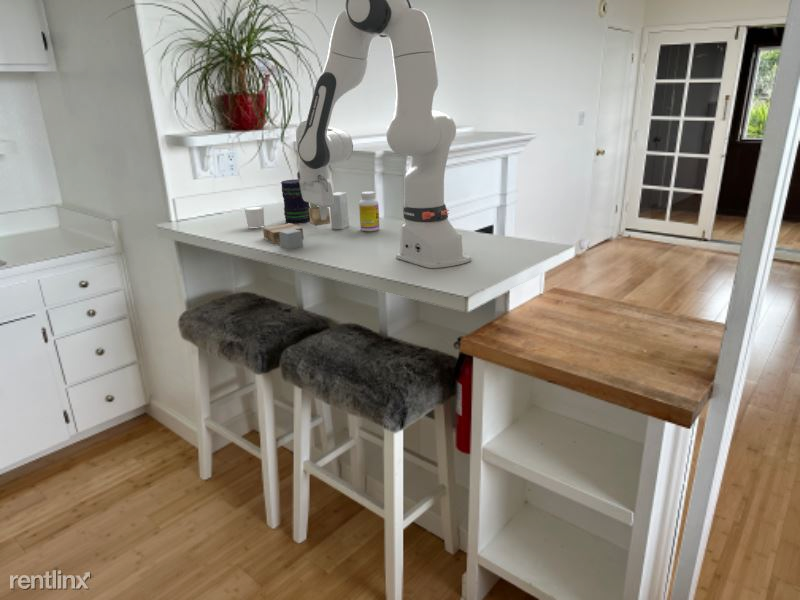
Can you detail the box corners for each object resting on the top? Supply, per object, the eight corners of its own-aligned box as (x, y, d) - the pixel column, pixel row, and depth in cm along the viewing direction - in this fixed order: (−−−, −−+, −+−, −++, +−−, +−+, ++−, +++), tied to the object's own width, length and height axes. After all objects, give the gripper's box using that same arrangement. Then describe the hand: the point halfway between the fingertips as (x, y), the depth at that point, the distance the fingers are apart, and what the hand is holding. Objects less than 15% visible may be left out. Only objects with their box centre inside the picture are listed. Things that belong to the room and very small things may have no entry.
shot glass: (261, 229, 203) (259, 209, 200) (243, 229, 204) (241, 209, 202) (268, 224, 209) (266, 206, 207) (251, 224, 210) (248, 206, 208)
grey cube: (302, 246, 177) (301, 230, 175) (289, 249, 174) (287, 233, 172) (294, 243, 181) (292, 228, 179) (280, 247, 177) (278, 231, 176)
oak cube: (330, 223, 180) (328, 207, 178) (315, 225, 178) (313, 209, 176) (324, 221, 184) (323, 205, 182) (310, 223, 182) (308, 208, 180)
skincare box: (338, 225, 204) (336, 191, 200) (349, 225, 202) (347, 192, 198) (331, 229, 199) (328, 194, 194) (342, 229, 197) (339, 195, 193)
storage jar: (282, 220, 216) (278, 180, 211) (307, 217, 219) (304, 178, 214) (288, 225, 207) (283, 184, 202) (314, 221, 211) (310, 181, 206)
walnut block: (303, 239, 186) (302, 228, 185) (274, 244, 181) (273, 232, 180) (292, 234, 194) (290, 223, 193) (264, 239, 189) (262, 227, 188)
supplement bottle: (379, 231, 192) (377, 193, 187) (359, 232, 192) (357, 194, 188) (380, 227, 198) (378, 190, 194) (361, 227, 198) (359, 191, 194)
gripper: (336, 175, 168) (341, 221, 173) (313, 171, 186) (318, 212, 190) (316, 177, 166) (321, 224, 170) (295, 173, 183) (300, 215, 187)
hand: (319, 218), depth 180 cm, fingers closed on oak cube, 5 cm apart
